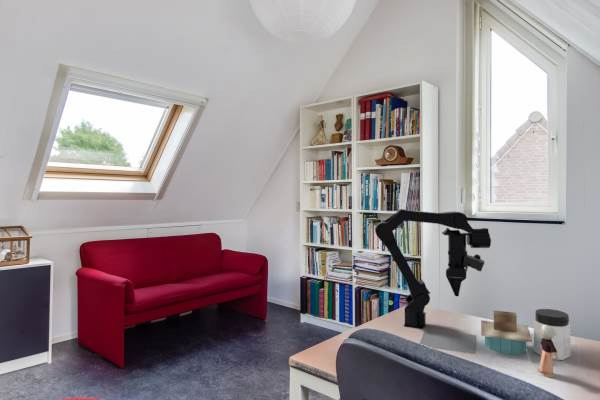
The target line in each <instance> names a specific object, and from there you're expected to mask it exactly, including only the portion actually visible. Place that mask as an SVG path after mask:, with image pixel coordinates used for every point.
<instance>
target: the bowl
mask: <svg viewBox="0 0 600 400" xmlns="http://www.w3.org/2000/svg"><path fill="white" fill-rule="evenodd" d="M484 346H485V348H488V349H489V350H491V351H493V352H496V353H498V354H500V353H501V354H504V355H505V354H506V355H522V354H524V353H526V352H527V341H519V340H511V339H502V338H494V337H486V336H484Z"/></svg>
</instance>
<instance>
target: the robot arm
mask: <svg viewBox="0 0 600 400" xmlns="http://www.w3.org/2000/svg"><path fill="white" fill-rule="evenodd" d="M468 221H469V219H468V217H467V216H466V213H463V212H460V211H446V212H445V211H444V212H442V211H441V212H430V211H418V210H408V209H404V208H400V209H398V210H396V212H394V213H393V214H391V216H389V217H388V218H387V219H386V220H384V221H379V222H377V223H376V224H375V226H374V233H375V234H376V237H378V240H380V242H382V244H383V245H384V246H385V247H386V248H387V250H388V251H389V254H390V255H391V257H392V259H393V261H394V262H395V264H396V266H397V268H398V269H399V271H400V273H401V276H403V278H404V280H405V282H406V286H407V288H408V291H409V294H408V295H407V297H405V298H404V302H405V305H406V306H405V307H404V324H403V327H404V328H412V329H422V330H423V329H424V327H425V326H426V325H427V314H426V312H425V307H426V306H427V305H429V303H430V301H431V296H430V294H431V292H430V291H429V289H428V287H426V283H425V281H424V280H423V279H422V278H421V279H418V278H417V277H416V275H415V274H414V272H413V271H412V268H411V267H410V265H409V263H408V261H407V259H406V258H405V256H404V254H403V252H402V251H401V249H400V247H399V246H398V242H397V240H396V237H395V233H394V231H395V230H397V228H398V227H399V226H400V225H402V223H403V222H416V223H417V222H418V223H427V224H437V225H441V226H445V227H446V228H445V230H443V231H442V232H441V234H442V235H443V236H448V238H447V239H448V243H447V245H448V251H447V255H448V263H447V266H448V267H447V268H446V270H445V276H446V279H447V281H448V283H449V285H450V288H451V289H452V292H453V295H454V296H455V297H460V291H461V286H462V282H464V281H465V280H466V279H467V272H468V268H471V269H474V270H476V271H478V272H482V270H483V268H484V265H485V261H484V260H483V259H482V257H481V254H477V253H476V254H474V256H473V255H469V254H468V251H467V246H470V248H471V249H490V247H491V244H492V238H491V235H490V232H489V228H487V227H481V228H473V227H472V226H471V225H470V223H469V222H468ZM450 228H453V229H450ZM460 230H462V231H463V232H460Z"/></svg>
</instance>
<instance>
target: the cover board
mask: <svg viewBox="0 0 600 400" xmlns="http://www.w3.org/2000/svg"><path fill="white" fill-rule="evenodd" d="M517 317H518V316H517V313H516V312H515V311H514V312H511V311H502V310H501V311H500V310H493V321H491V320H489V321H488V320H482V319H481V321H480V331H481V335H480V336H481V337H485V336H486V337H494V338H502V339H511V340H519V341H526V343H527V342H529V343H533V338H532V335H531V332H530V330H529V327H528V325H527V324H520V323H518V322H517V320H518V319H517Z"/></svg>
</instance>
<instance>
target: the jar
mask: <svg viewBox="0 0 600 400" xmlns="http://www.w3.org/2000/svg"><path fill="white" fill-rule="evenodd" d="M534 314H535V319H533V352H535V353H536V354H537V355H539V356H540V357H542V351H543V350H542V349H540V345H541V339H542V338H543V337H542V335H541V332H542V329H541V328H542V326H543V325H547V326H550V327H552V328H553V329H554V331H555V332H556V334H557V335H556V336H554V337H552V339H551V340H552V342H553V344H554V346H555V348H556V350H557V357H558V359H557V360H558V361H563V360H566V359H568V358H570V357H571V323H570V318H569V314H568V313H567V312H564V311H561V310H559V309H558V310H557V309H551V308H539V309H536V310H535V313H534ZM552 358H553V355H552ZM557 360H556V361H557Z"/></svg>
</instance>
